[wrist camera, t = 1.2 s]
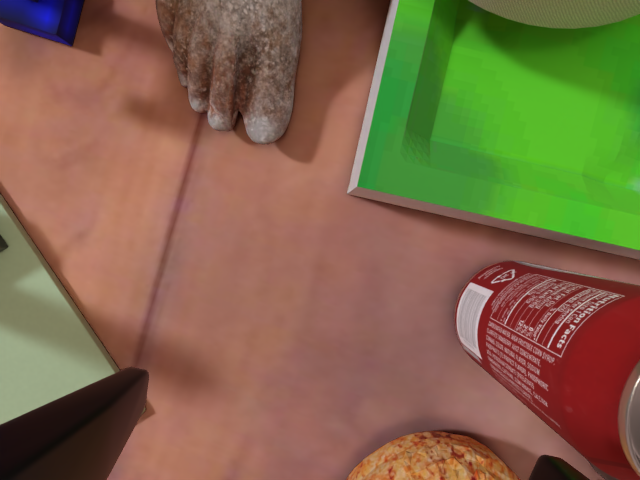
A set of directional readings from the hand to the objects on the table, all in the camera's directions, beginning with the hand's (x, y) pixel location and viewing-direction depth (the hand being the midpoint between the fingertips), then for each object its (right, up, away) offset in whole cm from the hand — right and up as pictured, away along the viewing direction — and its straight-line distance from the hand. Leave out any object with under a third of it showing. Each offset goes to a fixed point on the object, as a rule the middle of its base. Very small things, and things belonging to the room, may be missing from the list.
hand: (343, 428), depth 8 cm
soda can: (+11, 0, +15) cm, 18 cm away
